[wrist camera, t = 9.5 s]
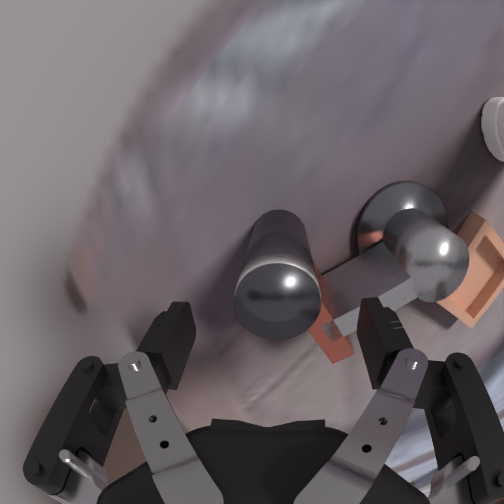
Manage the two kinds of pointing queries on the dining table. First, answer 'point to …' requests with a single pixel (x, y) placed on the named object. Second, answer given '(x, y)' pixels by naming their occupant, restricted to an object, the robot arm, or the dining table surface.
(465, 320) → the tray
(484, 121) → the water bottle
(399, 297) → the crank
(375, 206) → the base
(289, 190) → the dining table surface
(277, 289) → the peg
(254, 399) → the dining table surface
